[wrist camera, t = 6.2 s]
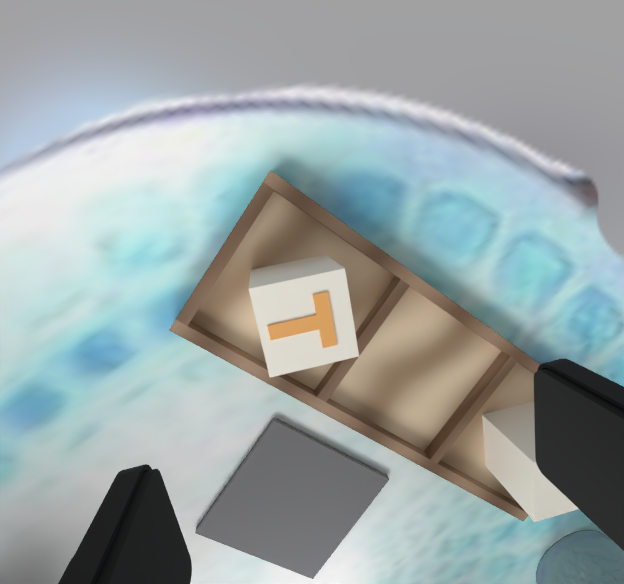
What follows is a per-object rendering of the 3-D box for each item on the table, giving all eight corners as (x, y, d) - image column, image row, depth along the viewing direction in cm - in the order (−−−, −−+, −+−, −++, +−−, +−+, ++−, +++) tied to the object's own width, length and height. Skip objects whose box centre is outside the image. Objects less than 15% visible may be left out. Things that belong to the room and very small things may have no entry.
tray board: (596, 406, 30) (611, 415, 29) (512, 507, 32) (523, 521, 30) (269, 172, 22) (270, 170, 21) (174, 323, 23) (169, 329, 22)
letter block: (250, 269, 23) (248, 289, 18) (326, 253, 23) (347, 268, 18) (267, 340, 24) (269, 378, 19) (339, 323, 25) (361, 356, 19)
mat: (387, 475, 29) (389, 479, 28) (312, 574, 30) (312, 578, 30) (273, 417, 26) (274, 420, 26) (196, 528, 27) (195, 532, 27)
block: (482, 414, 28) (533, 462, 23) (539, 399, 29) (601, 443, 24) (485, 465, 30) (534, 522, 24) (539, 450, 30) (599, 502, 25)
